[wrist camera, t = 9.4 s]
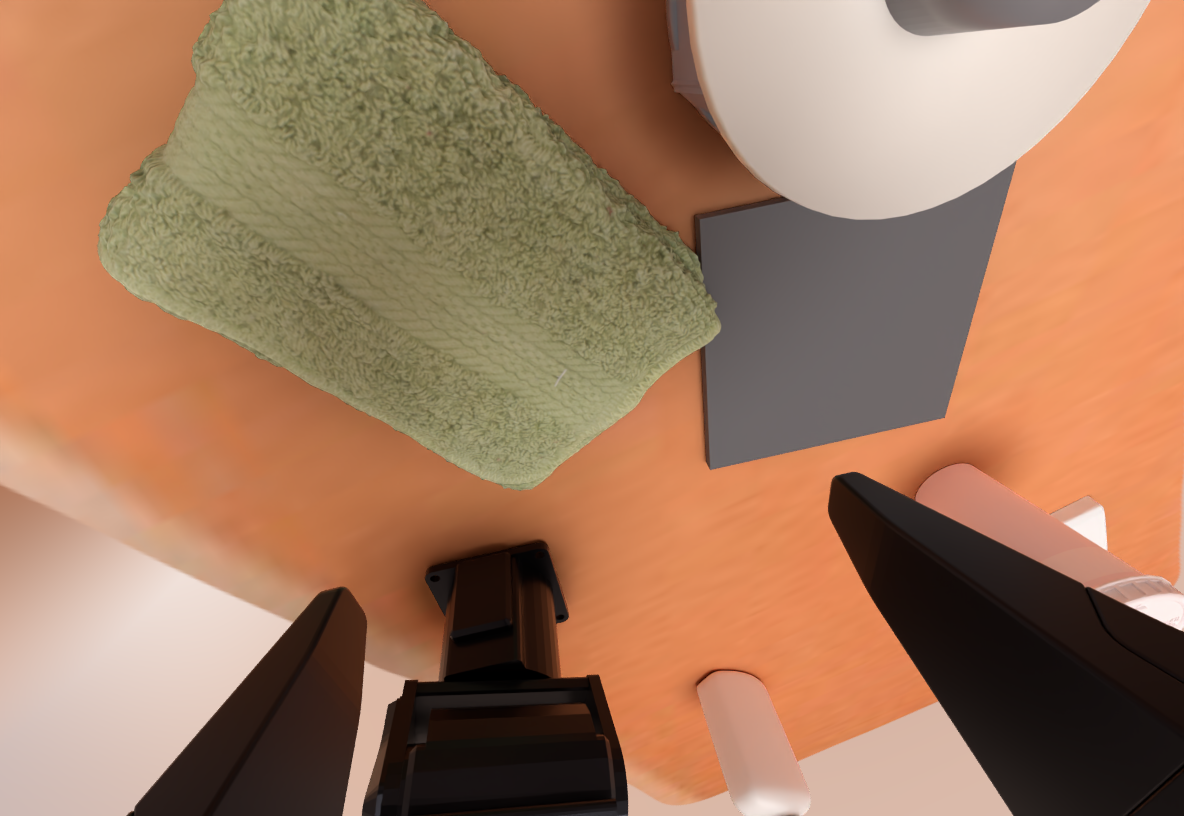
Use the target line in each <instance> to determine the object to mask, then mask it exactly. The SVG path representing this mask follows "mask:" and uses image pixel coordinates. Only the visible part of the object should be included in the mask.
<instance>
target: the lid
mask: <svg viewBox="0 0 1184 816" xmlns="http://www.w3.org/2000/svg"><path fill="white" fill-rule="evenodd" d="M1149 2H1150V0H686V8H687V17H688V27H689V36H690V45H691V50H692V54H693V59H694V63H695V68H696V72H697V77H698V81H699V84H700V86H701V89H702V92H703V95H704V98H705V101H706V104H707V107H708V109H709V112H710V114H711V116H712V118H713V120H714V121H715V123H716V125H717V127H718V129H719V131H720V133H721V135H722V137H723V139H724V140H725V141H726V143H727V144H728V146H729V147H730V149H731V150H732V152H733V153H734V154H735V156H736V157H737V159H738V160H739V161H740V162H741V163H742V164H743V165H744V166H745V167H746V168H747V169H748V170H749V171H750V172H751V174H752V175H753V176H754V177H755V178H757V179H758V180H759V181H761V182H762V183H763V184H765V185H766V186H767V187H769V188H770V189H771V190H773V191H774V192H775V193H777V194H779V195H781V196H783V197H785V198H787V199H789V200H791V201H793V202H795V203H797V204H799V205H802V206H804V207H806V208H809V209H811V210H815V211H818V212H821V213H824V214H827V215H830V216H834V217H841V218H848V219H855V220H872V219H887V218H893V217H900V216H906V215H910V214H913V213H917V212H920V211H924V210H927V209H931V208H933V207H936V206H938V205H941V204H943V203H945V202H948V201H950V200H952V199H955V198H957V197H959V196H961V195H963V194H965V193H967V192H968V191H970V190H972V189H974V188H976V187H978V186H979V185H981V184H983V183H985V182H986V181H988V180H989V179H991V178H992V177H994V176H995V175H997V174H998V173H1000V172H1001V171H1003V170H1004V169H1006V168H1007V167H1008V166H1010V165H1011V164H1013V163H1014V162H1015V161H1016V160H1017V159H1019V158H1020V157H1021V156H1022V155H1024V154H1025V153H1026V152H1027V151H1029V150H1030V149H1031V148H1032V147H1034V146H1035V145H1036V144H1037V143H1038V142H1039V141H1040V140H1041V139H1042V138H1044V137H1045V136H1046V135H1047V134H1048V133H1049V132H1050V131H1051V130H1052V129H1053V128H1054V127H1055V126H1056V125H1057V124H1058V123H1059V122H1060V121H1061V120H1062V119H1063V118H1064V117H1065V116H1066V115H1067V114H1068V113H1069V112H1070V111H1071V110H1072V108H1073V107H1074V106H1075V105H1076V104H1077V103H1078V102H1079V101H1080V100H1081V98H1082V97H1083V96H1084V95H1085V94H1086V93H1087V92H1088V91H1089V89H1090V88H1091V87H1092V86H1093V84H1094V83H1095V82H1096V80H1097V79H1098V78H1099V77H1100V75H1101V74H1102V73H1103V71H1104V70H1105V69H1106V68H1107V66H1108V65H1109V64H1110V62H1111V61H1112V60H1113V59H1114V57H1115V56H1116V54H1117V53H1118V51H1119V50H1120V48H1121V47H1122V45H1123V44H1124V42H1125V41H1126V39H1127V38H1128V36H1129V35H1130V33H1131V32H1132V30H1133V29H1134V27H1135V26H1136V24H1137V23H1138V21H1139V19H1140V18H1141V16H1142V14H1143V12H1144V11H1145V9H1146V7H1147V5H1148V4H1149Z"/></svg>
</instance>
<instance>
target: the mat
mask: <svg viewBox="0 0 1184 816" xmlns="http://www.w3.org/2000/svg"><path fill="white" fill-rule="evenodd" d="M1016 161H1017V160H1016ZM1016 161H1015V162H1014V163H1013V164H1011V165H1010V166H1008V167H1007V168H1006V169H1004V170H1003V171H1001V172H1000V173H998V174H997V175H995V176H994V177H992V178H991V179H989V180H988V181H986V182H985V183H983V184H981V185H979V186H978V187H976V188H974V189H972V190H970V191H968V192H967V193H965V194H963V195H961V196H959V197H957V198H955V199H952V200H950V201H948V202H945V203H943V204H941V205H938V206H936V207H933V208H931V209H927V210H924V211H920V212H917V213H913V214H910V215H906V216H900V217H893V218H887V219H872V220H855V219H848V218H841V217H834V216H830V215H827V214H824V213H821V212H818V211H815V210H811V209H809V208H806V207H804V206H802V205H799V204H797V203H795V202H793V201H791V200H789V199H787V198H785V197H782V198H777V199H772V200H768V201H763V202H758V203H753V204H748V205H743V206H739V207H734V208H729V209H724V210H719V211H714V212H710V213H705V214H700V215H695V232H696V254H697V256H698V260H699V262H700V268H701V271H702V274H703V276H704V279H703V283H704V284H705V289H706V291H707V293H708V294H710V295H711V297H712V299H713V300H715V301H716V302H717V307H716V308H715V313H716V315H717V317H718V318H719V320H720V323H721V330H720V332H719V333H718V334H717V335H716V336H715V337H714V339H713V340H712V341H710V342H709V343H708V344H706V345H705V346H703V347H702V348H701V361H702V382H703V404H704V425H705V447H706V463H707V465H708V467H709V468H710V470H712V469H716V468H721V467H725V466H730V465H734V464H739V463H743V462H748V461H752V460H757V459H761V458H766V457H770V456H775V455H779V454H784V453H788V452H793V451H797V450H802V449H806V448H811V447H815V446H820V445H824V444H829V443H833V442H838V441H842V440H847V439H851V438H856V437H860V436H865V435H869V434H873V433H878V432H882V431H887V430H891V429H896V428H900V427H905V426H909V425H914V424H918V423H923V422H927V421H932V420H936V419H941V418H945V414H946V411H947V407H948V404H949V400H950V397H951V393H952V389H953V386H954V382H955V379H956V375H957V372H958V368H959V364H960V361H961V357H962V354H963V350H964V347H965V343H966V339H967V336H968V332H969V329H970V325H971V322H972V318H973V314H974V311H975V307H976V304H977V300H978V297H979V293H980V289H981V286H982V282H983V279H984V275H985V272H986V268H987V264H988V261H989V257H990V254H991V250H992V247H993V243H994V239H995V236H996V232H997V229H998V225H999V222H1000V218H1001V214H1002V211H1003V207H1004V204H1005V200H1006V196H1007V193H1008V189H1009V186H1010V182H1011V179H1012V175H1013V171H1014V168H1015V164H1016Z"/></svg>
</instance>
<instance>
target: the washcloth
mask: <svg viewBox="0 0 1184 816" xmlns="http://www.w3.org/2000/svg"><path fill="white" fill-rule="evenodd" d="M191 62H192V65H193V69H194V71H195V73H196V81H195V86H194V87H193V88H192V89H191V91H190V92H189V94H188V96H187V98H186V100H185V104H184V106H183V108H182V109H181V111H180V113H179V116H178V118H177V120H176V122H175V128H174V130H173V132H172V133H171V134H170V136H169V139H168V142H167V144H164V145H162V146H160V147H158V148H156V149H155V150H154V151H153V152H152V153H151V154H150V155H148V156H147V157H146V158H145V159H144V160H143V162H142V164H141V167H140V169H139V170H138V171H136V172H134V173H132V174H130V181H131V183H129V184H128V186H125V187H124V188H123V190H122V191H121V192H120V193H119V194H118V195H116V196H115V197H114V198H112V199H111V201H110V202H109V205H108V207H107V212H106V215H105V217H104V218H103V219H102V220H101V222H100V224H99V226H100V232H99V235H98V236H99V242H98V245H97V246H98V254H99V258H100V261H101V263H102V265H103V267H104V268H105V269H106V270H107V272H108V273H109V274H110V275H111V276H112V277H113V278H114V279H116V280H117V281H119V282H120V283H121V284H122V285H124V287H125V288H126V290H128V291H129V292H130V293H132V294H133V295H134V296H136V297H137V298H139V299H140V300H143V301H148V302H152V303H155V304H156V305H157V306H159V307H160V308H161V309H162V310H163V311H164V312H167V313H169V314H171V315H173V316H175V317H177V318H178V319H182V320H189V321H191V322H194V323H196V324H198V325H201V326H203V327H204V328H206V329H208V330H211V331H214V332H217V333H218V334H220V335H222V336H223V337H225V338H227V339H229V340H231V341H234V342H235V343H237V344H238V345H239V346H241V347H243V348H245V349H247V350H248V351H250V352H252V353H254V354H255V356H256V357H257V358H259V359H263V360H267V361H269V362H270V363H271V364H273V365H275V366H277V367H284V368H286V369H287V370H289V371H290V372H291V373H293V374H295V375H296V376H298V377H300V378H301V379H303V380H304V381H305V382H307V383H308V384H310V385H311V386H314V387H316V388H319V389H320V390H322V391H326V392H328V393H330V394H332V395H334V396H336V397H338V398H339V399H341V400H342V401H344V402H345V403H346V404H348V405H350V406H353V407H354V408H355V409H356V410H359V411H363V412H365V413H366V414H368V415H369V416H373V417H375V418H377V419H379V420H381V421H383V422H385V423H387V424H389V425H390V426H392V427H393V429H394V430H396V431H400V432H401V433H403V434H406V435H408V436H410V437H411V438H413V439H414V440H416V441H417V442H418V443H420V444H421V445H423V446H424V447H426V448H427V449H428V450H432V451H433V452H434V453H436V454H438V455H440V456H442V457H443V458H445V460H446V461H447V462H451V463H453V464H455V465H456V466H457V467H459V468H462V469H464V470H466V471H468V472H470V473H472V474H474V475H476V476H479V477H480V478H481V479H482V480H484V479H486V480H488V481H492V482H495V483H496V484H499V485H501V486H502V487H503V488H504V489H505V488H511V489H513V490H519V491H521V490H526V489H530V490H531V489H533V488H534V487H536V486H537V485H538V484H540V483H541V482H543V481H544V480H545V479H546V478H547V477H548V476H550V475H551V474H552V472H553V471H554V470H555V469H556V468H557V467H558V466H559V465H561V464H562V463H563V462H564V461H566V460H567V459H568V458H569V457H571V456H572V455H573V454H574V453H576V452H578V451H579V450H580V449H581V448H583V447H584V446H585V445H586V444H588V443H589V442H590V441H591V440H593V439H594V438H595V437H597V436H598V435H600V434H601V433H602V432H603V431H605V430H606V429H608V428H609V427H610V426H612V425H613V424H615V423H616V422H617V421H618V420H619V419H621V418H622V417H624V416H625V415H626V414H628V413H629V412H630V411H632V410H633V409H634V408H635V407H636V406H637V404H638V403H639V402H640V400H641V399H642V397H643V395H644V394H645V392H646V391H647V389H648V388H650V387H651V386H652V385H653V383H654V382H655V381H656V380H658V379H659V378H660V376H662V375H663V374H664V373H665V372H666V371H668V370H669V369H670V368H671V367H673V366H674V365H675V364H676V363H678V362H679V361H680V360H682V359H683V358H684V357H686V356H688V355H689V354H691V353H693V352H694V351H696V350H698V349H700V348H702V347H703V346H705V345H706V344H708V343H709V342H710V341H712V340H713V339H714V337H715V336H716V335H717V334H718V333H719V332H720V330H721V323H720V320H719V318H718V317H717V315H716V313H715V308H716V307H717V302H716V301H715V300H713V299H712V297H711V295H710V294H708V293H707V291H706V289H705V284H704V283H703V279H704V276H703V274H702V271H701V268H700V262H699V260H698V256H697V255H696V254H695V253H694V252H693V251H692V250H691V249H690V248H689V247H687V246H686V245H685V244H684V243H683V241H682V240H681V239H680V237H679V236H678V235H679V232H673V231H669V230H666V229H667V227H666V226H663V225H660V224H659V223H658V222H657V221H656V220H655V219H654V218H653V216H651V215H650V214H649V211H648V210H647V208H646V206H644V205H643V204H641V203H640V202H639V201H638V200H637V199H635V198H634V196H633V195H631V194H628V193H627V192H626V191H625V190H624V188H623V187H621V186H620V184H619V181H618V180H616V179H613V178H611V177H610V176H609V175H608V174H607V171H606V170H605V169H603V168H597V166H596V165H595V164H594V163H593V161H592V158H591V157H590V155H588V154H587V153H586V152H585V150H584V149H582V148H580V147H579V146H578V145H577V144H576V143H575V142H573V141H572V140H571V139H570V137H569V136H568V135H567V134H565V132H564V130H563V129H562V128H561V127H560V125H557V124H555V123H554V122H553V121H552V120H551V119H548V118H549V116H548V115H547V114H544V115H542V112H541V109H540V108H539V107H536V108H535V107H534V105H533V103H532V102H531V101H530V99H529V96H528V94H526V93H525V92H524V91H523V90H522V89H521V88H520V87H519V86H518V85H515V84H512V83H511V82H510V81H509V80H508V78H507V77H506V76H505V75H499V76H498V75H496V73H495V72H494V70H493V68H492V67H491V66H490V65H489V64H488V63H487V62H486V61H485V60H484V59H483V57H482V54H481V52H480V51H479V50H478V49H476V48H474V47H473V46H472V45H471V44H470V43H469V42H468V41H466V40H462V39H461V38H459V37H458V36H456V35H454V32H453V31H452V29H450V28H449V27H448V23H447V22H445V21H444V20H442V19H441V18H440V16H439V15H438V14H437V13H436V12H435V11H432V10H431V9H429V7H428V6H427V5H426V3H425V2H423V1H422V0H224V1H223V4H222V5H221V7H220V8H219V9H218V10H216V11H215V12H213V13H211V14H210V21H209V23H208V24H206V25H205V27H204V30H203V32H202V33H201V34H200V36H199V38H198V41H197V42H196V43H195V44H194V46H193V55H192V60H191Z"/></svg>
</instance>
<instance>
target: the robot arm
mask: <svg viewBox="0 0 1184 816" xmlns="http://www.w3.org/2000/svg"><path fill="white" fill-rule="evenodd" d="M828 513H829V517H830V519H831V522H832V524H833V525H834V527H835V529H836V531H837V533H838V535H839V537H840V539H841V541H842V543H843V545H844V547H845V549H846V551H847V553H848V555H849V557H850V559H851V561H852V563H853V565H854V567H855V568H856V570H857V572H858V574H859V576H860V578H861V580H862V582H863V584H864V586H865V588H866V589H867V591H868V593H869V595H870V596H871V598H872V600H873V601H874V603H875V605H876V606H877V608H878V609H879V611H880V612H881V614H882V615H883V617H884V618H885V620H886V621H887V623H888V624H889V626H890V628H891V629H892V631H893V632H894V634H895V635H896V637H897V638H898V640H899V641H900V643H901V644H902V646H903V647H904V649H905V650H906V652H907V654H908V655H909V657H910V658H911V660H912V661H913V663H914V664H915V666H916V667H917V669H918V670H919V672H920V673H921V675H922V677H923V678H924V680H925V681H926V683H927V684H928V686H929V687H930V689H931V690H932V692H933V693H934V695H935V696H936V698H937V699H938V701H939V703H940V704H941V706H942V707H943V708H944V710H945V712H946V713H947V715H948V716H949V718H950V719H951V721H952V722H953V724H954V725H955V727H956V728H957V730H958V732H959V733H960V735H961V736H962V738H963V739H964V741H965V742H966V744H967V745H968V747H969V748H970V750H971V751H972V753H973V755H974V756H975V757H976V759H977V761H978V762H979V764H980V765H981V767H982V768H983V770H984V771H985V773H986V774H987V776H988V778H989V779H990V781H991V782H992V784H993V785H994V787H995V788H996V790H997V791H998V793H999V794H1000V796H1001V797H1002V799H1003V800H1004V802H1005V804H1006V805H1007V806H1008V808H1009V810H1010V811H1011V812H1012V814H1013V816H1184V632H1183V631H1181V630H1179V629H1176V628H1174V627H1172V626H1170V625H1167V624H1165V623H1163V622H1161V621H1159V620H1157V619H1155V618H1153V617H1151V616H1149V615H1147V614H1144V613H1142V612H1140V611H1138V610H1136V609H1134V608H1132V607H1130V606H1128V605H1126V604H1123V603H1121V602H1119V601H1117V600H1115V599H1113V598H1111V597H1109V596H1107V595H1105V594H1103V593H1101V592H1099V591H1097V590H1095V589H1093V588H1091V587H1084V585H1083V584H1082V583H1081V582H1079V581H1077V580H1074V579H1072V578H1070V577H1068V576H1066V575H1064V574H1062V573H1060V572H1058V571H1056V570H1054V569H1052V568H1050V567H1048V566H1046V565H1044V564H1042V563H1040V562H1038V561H1036V560H1034V559H1032V558H1030V557H1028V556H1026V555H1024V554H1022V553H1020V552H1018V551H1016V550H1014V549H1012V548H1010V547H1008V546H1006V545H1004V544H1002V543H1000V542H998V541H996V540H994V539H992V538H990V537H988V536H986V535H984V534H982V533H980V532H978V531H976V530H974V529H972V528H970V527H968V526H965V525H963V524H961V523H959V522H957V521H955V520H953V519H951V518H949V517H947V516H945V515H943V514H941V513H939V512H937V511H935V510H933V509H931V508H929V507H927V506H925V505H923V504H921V503H919V502H917V501H915V500H913V499H911V498H909V497H907V496H905V495H903V494H901V493H899V492H897V491H895V490H893V489H891V488H889V487H887V486H885V485H883V484H881V483H879V482H877V481H875V480H873V479H871V478H869V477H867V476H865V475H863V474H860V473H857V472H850V473H846V474H841V475H837V476H835V477H834V478H833V479H832V482H831V488H830V495H829V503H828ZM537 552H539V553H537ZM434 575H437V576H434ZM425 580H426V583H427V584H428V586H429V588H430V590H431V592H432V594H433V595H434V597H435V599H436V601H437V603H438V605H439V606H440V608H441V610H442V612H443V614H444V615H445V626H444V635H443V644H442V653H441V663H440V672H439V681H437V682H418V680H405V684H404V689H403V694H402V696H401V697H400V698H398V699H397V700H396V701H394V702H392V703H391V704H389V705H388V709H387V714H386V719H385V725H384V730H383V735H382V740H381V744H380V749H379V752H378V755H377V759H376V762H375V766H374V769H373V772H372V775H371V779H370V782H369V785H368V789H367V792H366V795H365V799H364V804H363V809H362V816H628V791H627V779H626V771H625V765H624V759H623V755H622V751H621V747H620V744H619V740H618V737H617V734H616V730H615V727H614V724H613V720H612V717H611V714H610V710H609V707H608V704H607V700H606V697H605V694H604V690H603V687H602V684H601V680H600V677H599V675H587V676H586V677H571V678H561V670H560V659H559V649H558V638H557V628H556V624H557V623H561V622H564V621H566V620H567V619H568V618H569V614H568V608H567V605H566V602H565V598H564V595H563V592H562V589H561V586H560V583H559V579H558V576H557V573H556V570H555V567H554V563H553V560H552V557H551V554H550V551H549V547H548V546H547V545H546V544H545V543H534V544H530V545H525V546H521V547H516V548H512V549H507V550H503V551H499V552H494V553H490V554H485V555H481V556H476V557H472V558H467V559H463V560H459V561H454V562H450V563H445V564H441V565H436V566H432V567H430V568H428V569H427V571H426V575H425ZM366 632H367V620H366V616H365V613H364V611H363V610H362V608H361V607H360V605H359V604H358V602H357V601H356V599H355V598H354V596H353V595H352V594H351V592H350V591H349V590H348V589H347V588H346V587H337V588H333V589H328V590H324V591H322V592H320V593H319V594H318V595H317V596H316V597H315V598H314V599H313V600H312V602H311V603H310V604H309V605H308V606H307V607H306V609H305V610H304V611H303V612H302V613H301V614H300V615H299V617H298V618H297V619H296V620H295V621H294V622H293V624H292V625H291V626H290V627H289V628H288V630H287V631H286V632H285V633H284V634H283V635H282V637H280V639H279V640H278V641H277V642H276V643H275V644H274V646H273V647H272V648H271V649H270V650H269V651H268V653H267V654H266V655H265V656H264V657H263V658H262V659H261V661H260V662H259V663H258V664H257V665H256V666H255V668H254V669H253V670H252V671H251V672H250V673H249V675H248V676H247V677H246V678H245V679H244V680H243V682H242V683H241V684H240V685H239V686H238V687H237V689H236V690H235V691H234V692H233V693H232V694H231V696H230V697H229V698H228V699H227V700H226V701H225V702H224V704H223V705H222V706H221V707H220V708H219V709H218V711H217V712H216V713H215V714H214V715H213V716H212V717H211V719H210V720H209V721H208V722H207V723H206V725H205V726H204V727H203V728H202V729H201V730H200V731H199V732H198V734H197V735H196V736H195V737H194V738H193V739H192V741H191V742H190V743H189V744H188V745H187V747H186V748H185V749H184V750H183V751H182V752H181V754H180V755H179V756H178V757H177V758H176V759H175V760H174V761H173V763H172V764H171V765H170V766H169V767H168V768H167V770H166V771H165V772H164V773H163V774H162V775H161V777H160V778H159V779H158V780H157V781H156V782H155V784H154V785H153V786H152V787H151V788H150V789H149V790H148V792H147V793H146V794H145V795H144V796H143V797H142V799H141V800H140V801H139V802H138V803H137V805H136V806H135V809H134V811H131V812H130V813H128V815H127V816H342V814H343V808H344V803H345V797H346V791H347V786H348V779H349V775H350V769H351V763H352V758H353V752H354V747H355V740H356V735H357V730H358V724H359V717H360V710H361V700H362V687H363V674H364V660H365V646H366Z"/></svg>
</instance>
